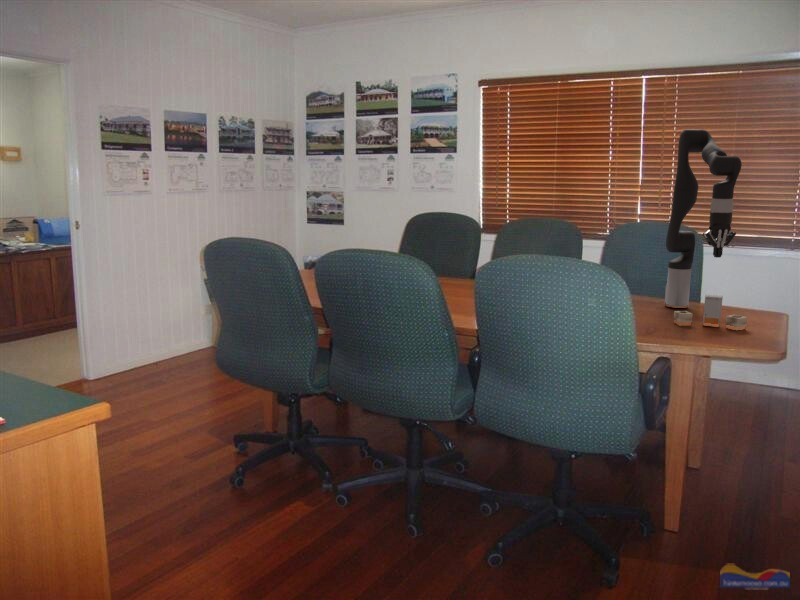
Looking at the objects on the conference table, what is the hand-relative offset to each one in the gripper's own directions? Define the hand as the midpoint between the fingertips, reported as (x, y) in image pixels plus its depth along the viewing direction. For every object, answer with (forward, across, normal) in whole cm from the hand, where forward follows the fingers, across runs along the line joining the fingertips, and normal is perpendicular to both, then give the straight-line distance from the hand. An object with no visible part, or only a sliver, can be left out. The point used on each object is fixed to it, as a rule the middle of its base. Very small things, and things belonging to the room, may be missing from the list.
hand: (717, 257), depth 252 cm
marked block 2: (+27, -6, +6) cm, 28 cm away
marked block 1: (+27, +9, -5) cm, 29 cm away
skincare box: (+27, 0, 0) cm, 27 cm away
